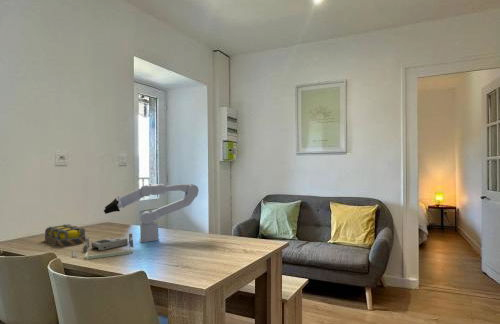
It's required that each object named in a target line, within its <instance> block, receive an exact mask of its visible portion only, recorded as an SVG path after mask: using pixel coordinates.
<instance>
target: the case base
mask: <svg viewBox="0 0 500 324" xmlns="http://www.w3.org/2000/svg"><path fill="white" fill-rule="evenodd" d="M128 243H130V244H129V245H130V247H134V239H133V232H129V233H128ZM83 247H84V249H83V250H84V253H87V252H88V249H89V247H90V237H85V242H84V245H83Z"/></svg>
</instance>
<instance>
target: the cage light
mask: <svg viewBox="0 0 500 324" xmlns="http://www.w3.org/2000/svg"><path fill="white" fill-rule="evenodd" d="M85 238H86V229H85V228H84V227H81V226H80V227H78V226H77V225H72V224H68V223H67V224H62V225H61V224H60V225H56V226H49V227H47V228H46V229H45V230H44V242H45V243H47V242H48V244H50V243H51V244H50V245H53V244H54V245H53V246H55V245H57V246H56V247H68V246H69V245H70V246H75V245H76V246H77V245H80V243H81V244H83V243H84V244H85Z"/></svg>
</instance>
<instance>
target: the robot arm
mask: <svg viewBox="0 0 500 324" xmlns="http://www.w3.org/2000/svg"><path fill="white" fill-rule="evenodd" d="M178 191H180V192H183V193H184V196H183V198H182V199H179V200H177V201H173V202H171V203H169V204H166V205H164V206H161V207H159V208H156V209H152V210H145V211H143V212H141V214H140V224H139V225H140V226H139V232H140V233H139V234H140V238H139V243H146V242H154V241H159V240H160V239H159V224H158V223H157V222H156V223H154V221H155V220H157V219H159V218H161V217H163V216H167V215H168V214H171V213H174V212H177V211H179V210H181V209H184V208H186V207H188V206H190V205H191V204H192V203H193V202H194V200H195V199H196V198H197V197H198V194H199V187H198V186H197V185H195V184H192V183H190V184H188V183H179V184H171V185H165V184H163V183H161V182H159V183H158V184H148V185H147V184H145V185H142V186H141V187H140V188H137V189H134V190H133V191H129V192H128V193H126V194H124V195H122V196H120V195H116V196H117V198H114V199H113V200H112V201H111V202H109V204H107V205H106V206H104V209H103V212H104V214H106V215H107V214H110V213H114V212H120V211H121V210H120V209H121V208H123V209H124V208H126V207H127V206H129V205H132V204H134V203H136V202H138V201H140V200H141V199H143V198H145V197H149V196H150V195H151V196H159V195H165V194H166V192H178Z"/></svg>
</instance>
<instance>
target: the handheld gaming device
mask: <svg viewBox="0 0 500 324" xmlns="http://www.w3.org/2000/svg"><path fill="white" fill-rule="evenodd" d="M126 245H129V238H127V237H126V238H125V237H121V236H120V237H119V236H117V237H111V238H105V239H100V240H96V241H92V242H91V248H92V249H97V248H98V249H97V250H98V251H104V250H108V249H113V248H118V247H122V246H126Z"/></svg>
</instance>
